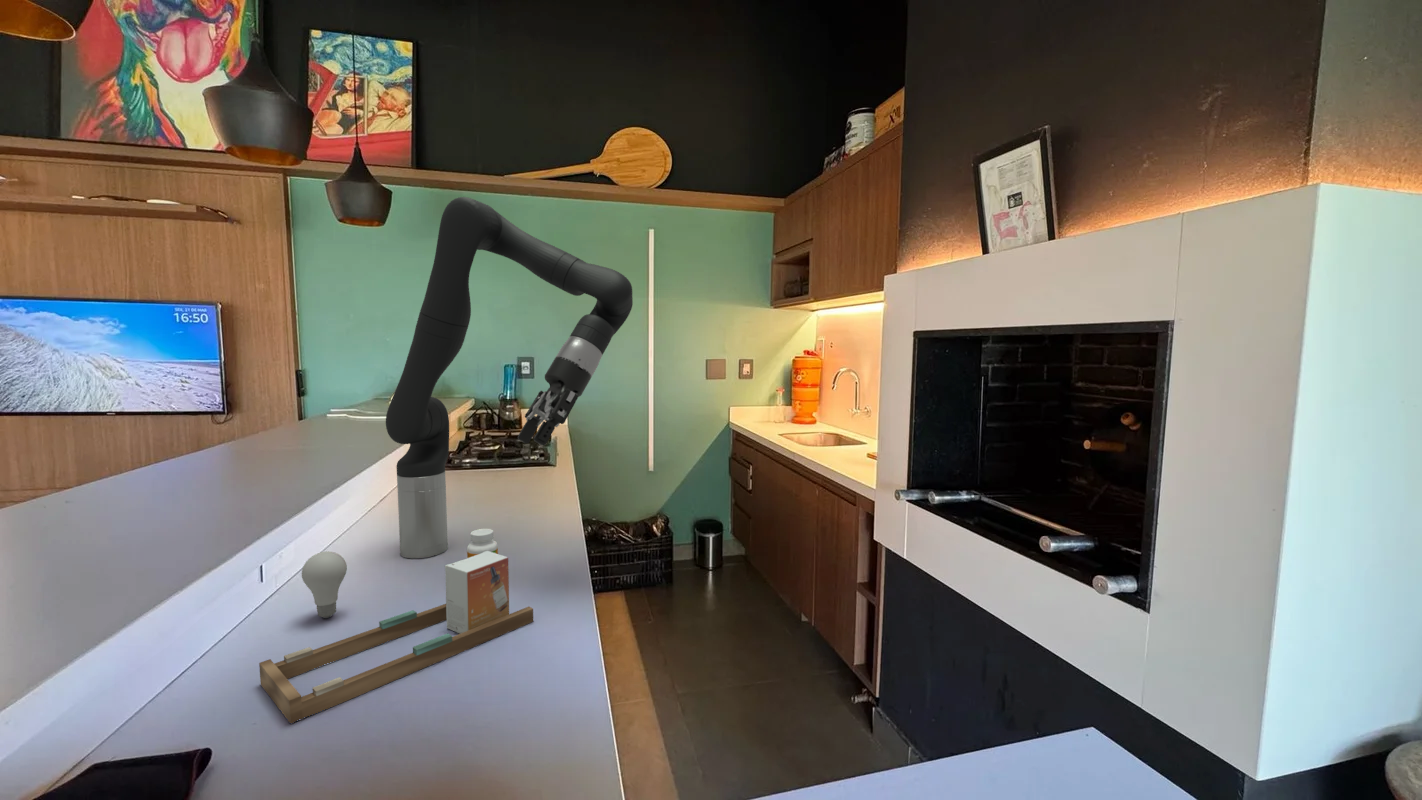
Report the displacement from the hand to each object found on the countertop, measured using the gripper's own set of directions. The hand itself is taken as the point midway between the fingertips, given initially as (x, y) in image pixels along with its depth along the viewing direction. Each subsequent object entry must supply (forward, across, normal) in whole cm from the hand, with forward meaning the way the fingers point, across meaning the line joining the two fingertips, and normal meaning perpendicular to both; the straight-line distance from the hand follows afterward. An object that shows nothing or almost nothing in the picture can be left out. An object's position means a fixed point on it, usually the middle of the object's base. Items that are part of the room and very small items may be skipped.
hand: (530, 442), depth 103 cm
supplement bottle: (+25, -13, +10) cm, 30 cm away
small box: (+30, +4, +7) cm, 31 cm away
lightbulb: (+39, -12, -11) cm, 43 cm away
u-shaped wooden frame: (+35, +6, -1) cm, 36 cm away
